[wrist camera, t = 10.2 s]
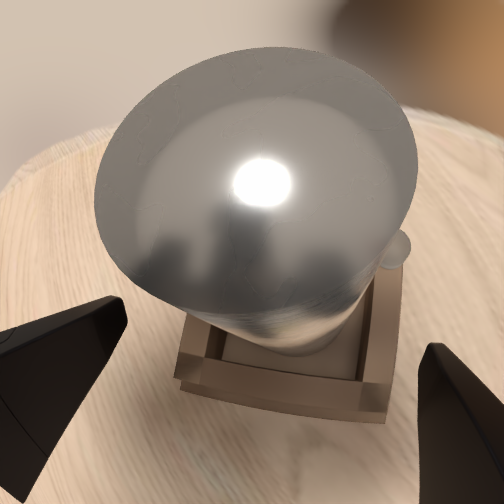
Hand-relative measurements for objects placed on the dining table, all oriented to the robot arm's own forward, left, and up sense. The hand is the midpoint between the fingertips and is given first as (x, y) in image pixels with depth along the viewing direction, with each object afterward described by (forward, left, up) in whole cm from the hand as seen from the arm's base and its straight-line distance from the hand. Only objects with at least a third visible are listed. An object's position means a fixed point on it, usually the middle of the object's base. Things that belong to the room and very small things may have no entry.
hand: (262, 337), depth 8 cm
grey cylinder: (+2, +2, -9) cm, 10 cm away
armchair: (+1, +1, -10) cm, 10 cm away
